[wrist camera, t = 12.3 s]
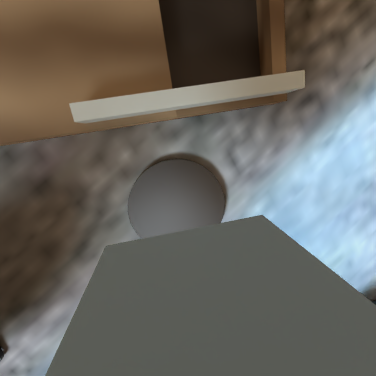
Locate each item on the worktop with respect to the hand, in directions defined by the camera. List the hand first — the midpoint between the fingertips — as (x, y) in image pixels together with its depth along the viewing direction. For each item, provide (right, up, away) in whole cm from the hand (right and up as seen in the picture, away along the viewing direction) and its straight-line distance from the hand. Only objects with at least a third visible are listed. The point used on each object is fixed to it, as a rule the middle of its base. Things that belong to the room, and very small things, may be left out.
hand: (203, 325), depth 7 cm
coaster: (-1, +3, +12) cm, 12 cm away
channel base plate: (-7, +14, +8) cm, 17 cm away
